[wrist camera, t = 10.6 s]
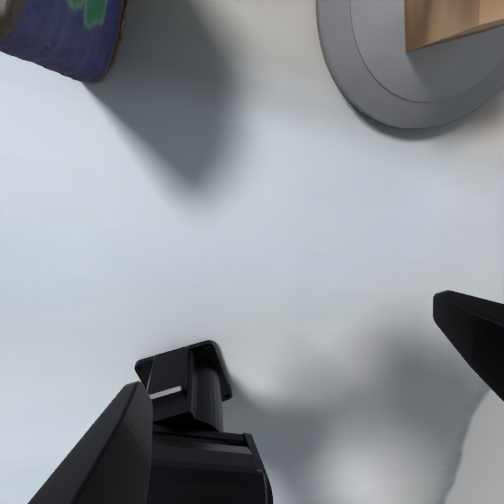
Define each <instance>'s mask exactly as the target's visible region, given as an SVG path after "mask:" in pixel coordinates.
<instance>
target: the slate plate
mask: <svg viewBox="0 0 504 504" xmlns="http://www.w3.org/2000/svg"><path fill="white" fill-rule="evenodd" d="M316 15H317V28H318V33H319V39H320V45H321V48H322V52H323V55H324V58H325V62H326V64H327V67H328V69H329V71H330V73H331V76H332V78H333V80H334V81H335V83H336V85H337V86H338V88H339V90H340V91H341V92H342V94H343V95H344V96H345V97H346V99H347V100H348V101H349V102H350V103H351V104H352V105H353V106H354V107H355V108H356V109H357V110H358V111H360V112H361V113H363V114H364V115H366V116H367V117H369V118H370V119H372V120H375V121H377V122H379V123H381V124H384V125H388V126H392V127H398V128H430V127H435V126H440V125H444V124H446V123H449V122H452V121H455V120H457V119H459V118H461V117H463V116H465V115H467V114H469V113H471V112H472V111H474V110H475V109H477V108H479V107H480V106H482V105H483V104H484V103H485V102H487V101H488V100H489V99H490V98H492V97H493V96H494V95H495V94H496V93H497V92H498V91H499V90H500V89H501V88H502V87H503V86H504V26H501V27H498V28H495V29H492V30H489V31H486V32H483V33H479V34H475V35H471V36H467V37H464V38H460V39H456V40H452V41H449V42H445V43H441V44H437V45H433V46H430V47H426V48H422V49H418V50H415V51H411V52H407V53H405V16H404V0H316Z"/></svg>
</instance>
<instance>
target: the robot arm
mask: <svg viewBox="0 0 504 504" xmlns="http://www.w3.org/2000/svg"><path fill="white" fill-rule="evenodd" d="M433 318H434V321H435V323H436V324H437V326H438V327H439V328H440V329H441V331H442V332H443V333H444V334H445V336H446V337H447V338H448V339H449V341H450V342H451V343H452V344H453V346H454V347H455V348H456V350H457V351H458V352H459V353H460V355H461V356H462V357H463V358H464V360H465V361H466V362H467V363H468V364H469V366H470V367H471V368H472V369H473V370H474V371H475V372H476V373H477V374H478V375H479V376H480V377H481V378H482V380H483V381H484V382H485V383H486V384H487V385H488V386H489V387H490V388H491V389H492V390H493V391H494V392H495V393H496V394H497V395H498V396H499V397H500V398H501V399H502V400H503V401H504V304H501V303H497V302H494V301H490V300H486V299H482V298H478V297H474V296H470V295H466V294H462V293H458V292H454V291H450V290H446V291H443V292H439V293H436V294H435V295H434V297H433ZM207 346H210V348H207ZM140 366H144V367H140ZM135 371H136V373H137V375H138V376H139V378H140V380H141V382H142V383H141V382H140V381H137V382H133V383H130V384H127V385H125V386H124V387H123V388H122V390H121V391H120V392H119V393H118V394H117V396H116V397H115V398H114V399H113V400H112V402H111V403H110V404H109V405H108V407H107V408H106V409H105V410H104V411H103V413H102V414H101V415H100V416H99V417H98V419H97V420H96V421H95V422H94V424H93V425H92V426H91V427H90V428H89V430H88V431H87V432H86V433H85V434H84V436H83V437H82V438H81V439H80V441H79V442H78V443H77V444H76V445H75V447H74V448H73V449H72V450H71V452H70V453H69V454H68V455H67V456H66V458H65V459H64V460H63V461H62V462H61V464H60V465H59V466H58V467H57V469H56V470H55V471H54V472H53V473H52V475H51V476H50V477H49V478H48V479H47V481H46V482H45V483H44V484H43V486H42V487H41V488H40V489H39V490H38V492H37V493H36V494H35V495H34V496H33V498H32V499H31V500H30V501H29V503H28V504H273V495H272V489H271V485H270V482H269V479H268V476H267V474H266V471H265V468H264V466H263V463H262V461H261V458H260V455H259V453H258V450H257V448H256V445H255V442H254V440H253V437H252V435H251V434H248V433H243V434H234V433H226V432H223V417H222V401H226V400H229V399H231V398H232V390H231V387H230V384H229V382H228V379H227V376H226V374H225V371H224V368H223V366H222V363H221V360H220V358H219V355H218V352H217V350H216V347H215V344H214V342H213V341H210V340H207V341H203V342H200V343H196V344H193V345H189V346H186V347H182V348H179V349H175V350H172V351H169V352H165V353H162V354H158V355H155V356H152V357H148V358H145V359H141V360H139V361H137V362H136V365H135Z"/></svg>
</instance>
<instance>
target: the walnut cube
mask: <svg viewBox="0 0 504 504" xmlns="http://www.w3.org/2000/svg"><path fill="white" fill-rule="evenodd" d="M404 16H405V53H407V52H411V51H415V50H418V49H422V48H426V47H430V46H433V45H437V44H441V43H445V42H449V41H452V40H456V39H460V38H464V37H467V36H471V35H475V34H479V33H483V32H486V31H489V30H492V29H495V28H498V27H501V26H504V0H404Z"/></svg>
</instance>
